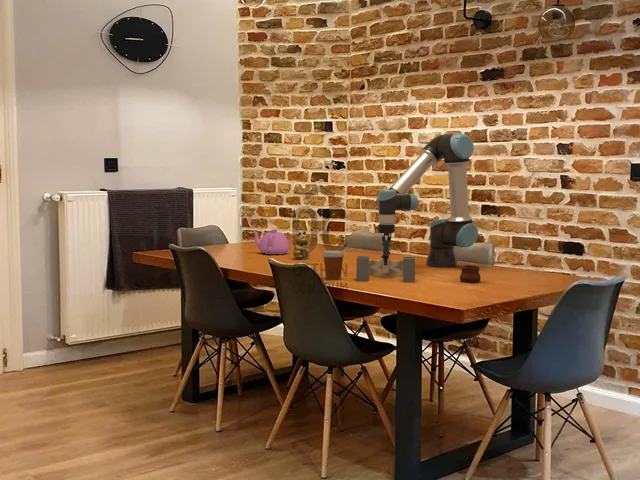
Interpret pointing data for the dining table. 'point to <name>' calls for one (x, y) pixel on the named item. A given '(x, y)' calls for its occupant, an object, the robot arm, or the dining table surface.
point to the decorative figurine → (301, 246)
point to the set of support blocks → (363, 269)
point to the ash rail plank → (394, 268)
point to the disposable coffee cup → (333, 264)
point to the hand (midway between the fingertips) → (385, 270)
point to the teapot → (272, 242)
